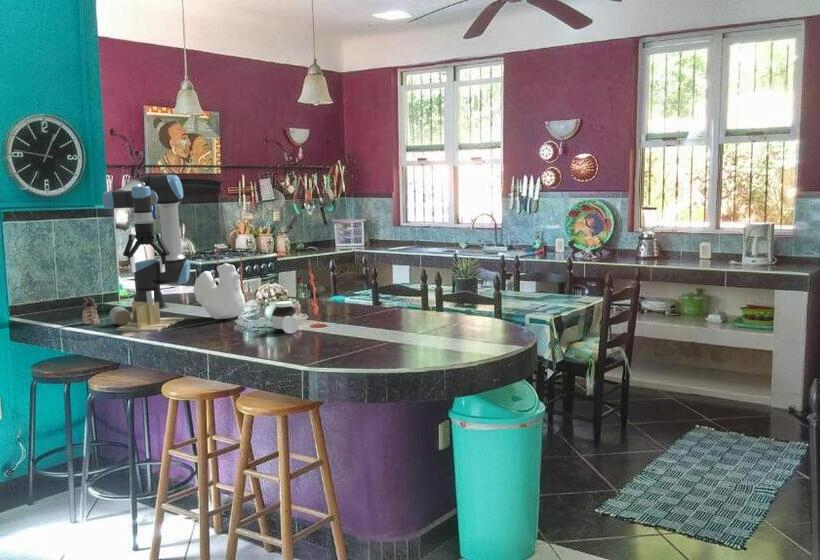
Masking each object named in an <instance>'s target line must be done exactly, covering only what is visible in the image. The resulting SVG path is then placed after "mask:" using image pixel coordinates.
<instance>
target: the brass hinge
mask: <svg viewBox="0 0 820 560" xmlns="http://www.w3.org/2000/svg"><path fill="white" fill-rule="evenodd" d="M131 307H132V309H131V310H132V318H133V321H134V322H138V329H141V328H143V327H146V326H148V325H155V324H159V323H160V318H161V315H160V313H161V312H160V311H161V310H160V307H159V302H154V303H152V304H147V302H136V301H134V300H133V301H131Z"/></svg>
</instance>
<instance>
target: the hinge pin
mask: <svg viewBox="0 0 820 560" xmlns="http://www.w3.org/2000/svg"><path fill="white" fill-rule="evenodd" d="M146 294H147V304H152V303H154V291H146Z"/></svg>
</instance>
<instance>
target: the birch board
mask: <svg viewBox="0 0 820 560" xmlns="http://www.w3.org/2000/svg"><path fill="white" fill-rule="evenodd" d="M182 320H183V321H185V317H160V323H159V324H155V325H148V326H146V327H143V328H141V329H138V322H129V323H128V324H126V325H121V326H119V327H117V328H115V330H116V332H159V331H161V329H162V330H164V329H166V328H168V326H169V327H171V326H173V325H175V323H176V324H178V323H180V322H182ZM179 321H180V322H179ZM177 322H178V323H177ZM172 324H173V325H172ZM170 325H171V326H170ZM165 327H166V328H165ZM163 328H164V329H163Z"/></svg>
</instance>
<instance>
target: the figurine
mask: <svg viewBox="0 0 820 560" xmlns="http://www.w3.org/2000/svg"><path fill="white" fill-rule="evenodd" d="M82 300H83V301H84V302H83V304H82V308H83V310H82V315H81V316H82V317H81V322H82V325H83V324H86V325H85V326H88V325H87V324H94V325H98V324H100V323H99V322H100V321H101V320H100V318H99V315H98V311H97V309H98V306H97V304H96V302H95V299H94V298H92V297H90V296H87V297H83V298H82ZM97 323H98V324H97Z"/></svg>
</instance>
